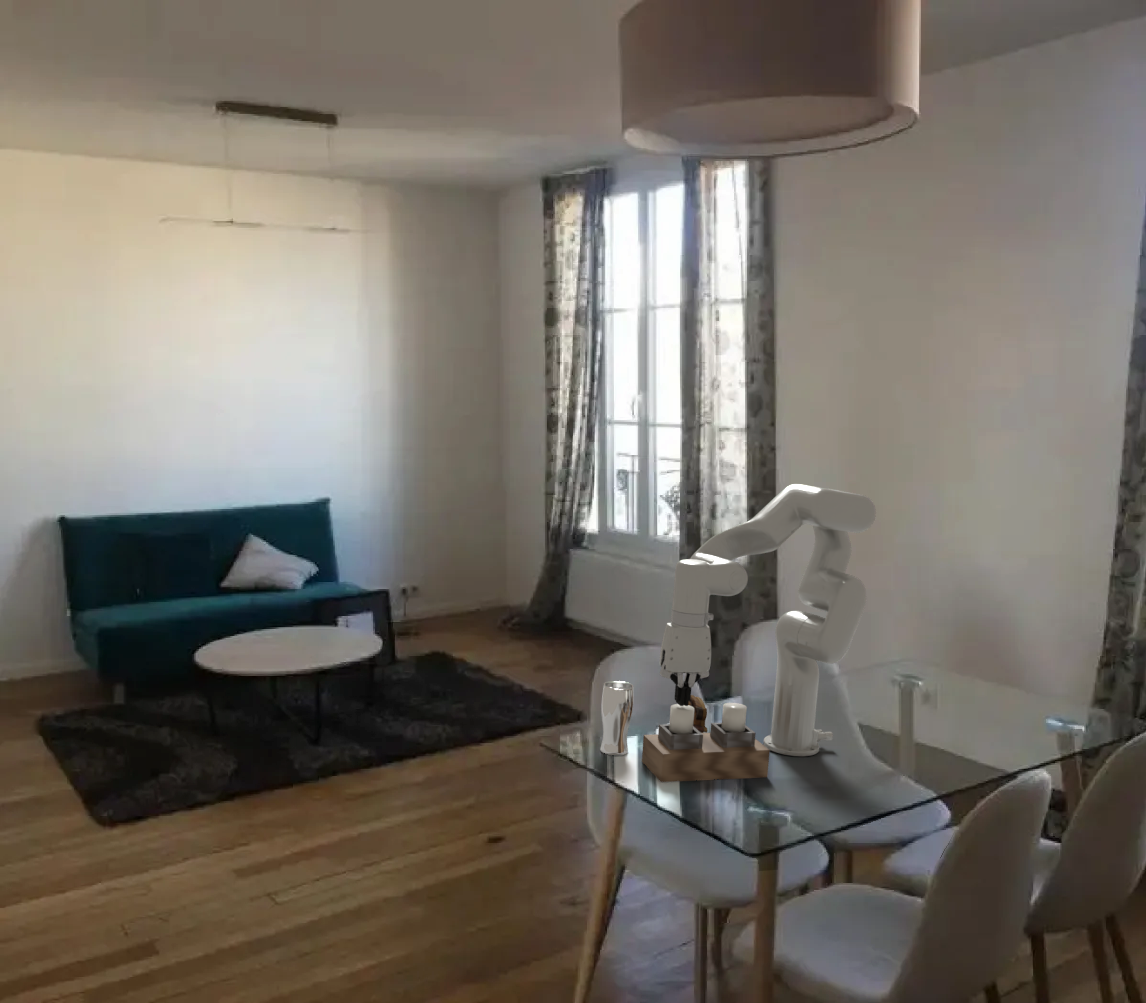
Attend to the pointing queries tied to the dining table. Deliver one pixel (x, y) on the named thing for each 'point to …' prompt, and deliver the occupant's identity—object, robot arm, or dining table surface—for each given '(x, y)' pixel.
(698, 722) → the wooden carving
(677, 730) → the knob
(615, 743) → the beer glass
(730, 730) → the knob
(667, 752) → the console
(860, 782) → the dining table surface
